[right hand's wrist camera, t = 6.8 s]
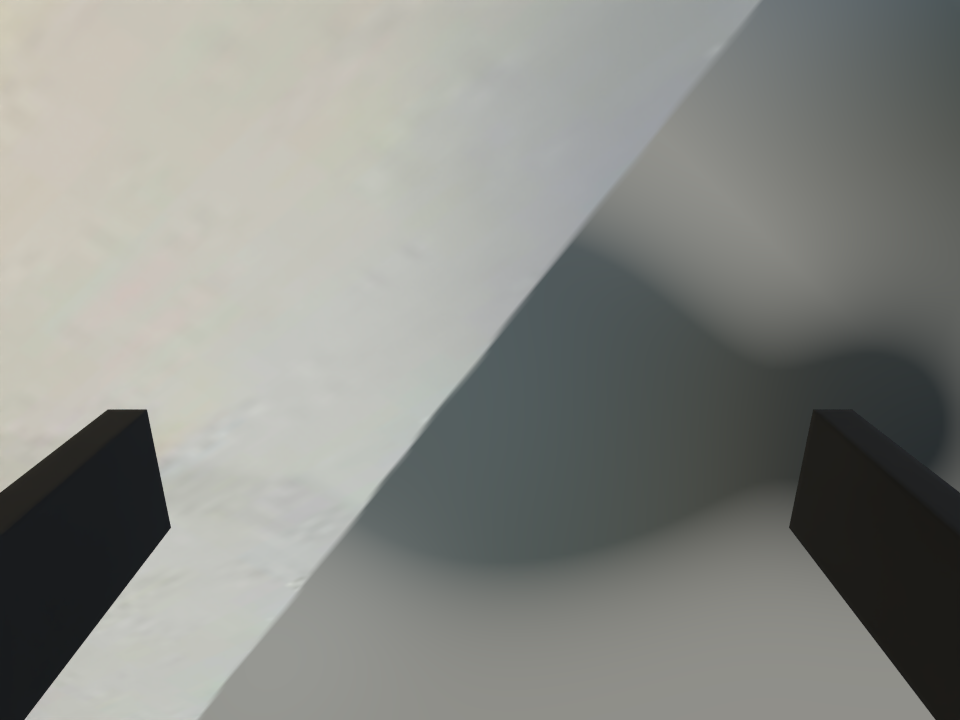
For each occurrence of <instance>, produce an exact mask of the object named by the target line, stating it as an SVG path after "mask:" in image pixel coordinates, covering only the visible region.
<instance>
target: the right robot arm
mask: <svg viewBox="0 0 960 720" xmlns="http://www.w3.org/2000/svg"><path fill="white" fill-rule="evenodd" d="M170 528H171V526H170V521H169V516H168V511H167V506H166V501H165V497H164V492H163V487H162V482H161V477H160V472H159V467H158V462H157V457H156V452H155V447H154V442H153V438H152V433H151V428H150V423H149V418H148V413H147V410H107V411H105V412H104V413H103V414H102V415H100V416H99V417H98V418H96V419H95V420H94V421H92V422H91V423H90V424H89V425H87V426H86V427H85V428H83V429H82V430H81V431H80V432H78V433H77V434H76V435H74V436H73V437H72V438H70V439H69V440H68V441H67V442H65V443H64V444H63V445H61V446H60V447H59V448H58V449H56V450H55V451H54V452H52V453H51V454H50V455H48V456H47V457H46V458H45V459H43V460H42V461H41V462H39V463H38V464H37V465H36V466H34V467H33V468H32V469H30V470H29V471H28V472H26V473H25V474H24V475H23V476H21V477H20V478H19V479H17V480H16V481H15V482H14V483H12V484H11V485H10V486H8V487H7V488H6V489H4V490H3V491H2V492H1V493H0V720H25V718H26V717H27V716H28V714H29V713H30V712H31V710H32V709H33V708H34V706H35V705H36V704H37V702H38V701H39V700H40V699H41V697H42V696H43V695H44V693H45V692H46V691H47V689H48V688H49V687H50V685H51V684H52V683H53V681H54V680H55V679H56V678H57V676H58V675H59V674H60V672H61V671H62V670H63V668H64V667H65V666H66V664H67V663H68V662H69V660H70V659H71V658H72V657H73V655H74V654H75V653H76V651H77V650H78V649H79V647H80V646H81V645H82V643H83V642H84V641H85V640H86V638H87V637H88V636H89V634H90V633H91V632H92V630H93V629H94V628H95V626H96V625H97V624H98V622H99V621H100V620H101V619H102V617H103V616H104V615H105V613H106V612H107V611H108V609H109V608H110V607H111V605H112V604H113V603H114V601H115V600H116V599H117V598H118V596H119V595H120V594H121V592H122V591H123V590H124V588H125V587H126V586H127V584H128V583H129V582H130V580H131V579H132V578H133V577H134V575H135V574H136V573H137V571H138V570H139V569H140V567H141V566H142V565H143V563H144V562H145V561H146V560H147V558H148V557H149V556H150V554H151V553H152V552H153V550H154V549H155V548H156V546H157V545H158V544H159V542H160V541H161V540H162V539H163V537H164V536H165V535H166V533H167V532H168V531H169V529H170ZM789 528H790V529H791V531H792V532H793V533H794V535H795V536H796V537H797V539H798V540H799V541H800V542H801V544H802V545H803V546H804V548H805V549H806V550H807V552H808V553H809V554H810V555H811V557H812V558H813V559H814V561H815V562H816V563H817V565H818V566H819V567H820V569H821V570H822V571H823V573H824V574H825V575H826V577H827V578H828V579H829V580H830V582H831V583H832V584H833V586H834V587H835V588H836V590H837V591H838V592H839V594H840V595H841V596H842V598H843V599H844V600H845V601H846V603H847V604H848V605H849V607H850V608H851V609H852V611H853V612H854V613H855V615H856V616H857V617H858V619H859V620H860V621H861V622H862V624H863V625H864V626H865V628H866V629H867V630H868V632H869V633H870V634H871V636H872V637H873V638H874V640H875V641H876V642H877V643H878V645H879V646H880V647H881V649H882V650H883V651H884V652H885V654H886V655H887V657H888V658H889V659H890V660H891V662H892V663H893V664H894V666H895V667H896V668H897V670H898V671H899V672H900V674H901V675H902V676H903V677H904V679H905V680H906V681H907V683H908V684H909V685H910V687H911V688H912V689H913V691H914V692H915V693H916V695H917V696H918V697H919V698H920V700H921V701H922V702H923V704H924V705H925V706H926V708H927V709H928V710H929V712H930V713H931V714H932V716H933V717H934V718H935V719H936V720H960V493H959V492H958V491H957V490H956V489H954V488H953V487H952V486H950V485H949V484H948V483H946V482H945V481H944V480H943V479H941V478H940V477H939V476H937V475H936V474H935V473H934V472H932V471H931V470H930V469H928V468H927V467H926V466H924V465H923V464H922V463H921V462H919V461H918V460H917V459H915V458H914V457H913V456H912V455H910V454H909V453H907V452H906V451H905V450H904V449H902V448H901V447H900V446H899V445H897V444H896V443H895V442H893V441H892V440H891V439H890V438H888V437H887V436H886V435H884V434H883V433H882V432H880V431H879V430H878V429H877V428H875V427H874V426H873V425H871V424H870V423H869V422H867V421H866V420H865V419H864V418H862V417H861V416H860V415H858V414H857V413H856V412H855V411H853V410H813V413H812V418H811V423H810V428H809V433H808V438H807V442H806V447H805V452H804V457H803V462H802V467H801V472H800V477H799V482H798V487H797V492H796V497H795V502H794V506H793V511H792V516H791V521H790V526H789Z"/></svg>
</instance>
